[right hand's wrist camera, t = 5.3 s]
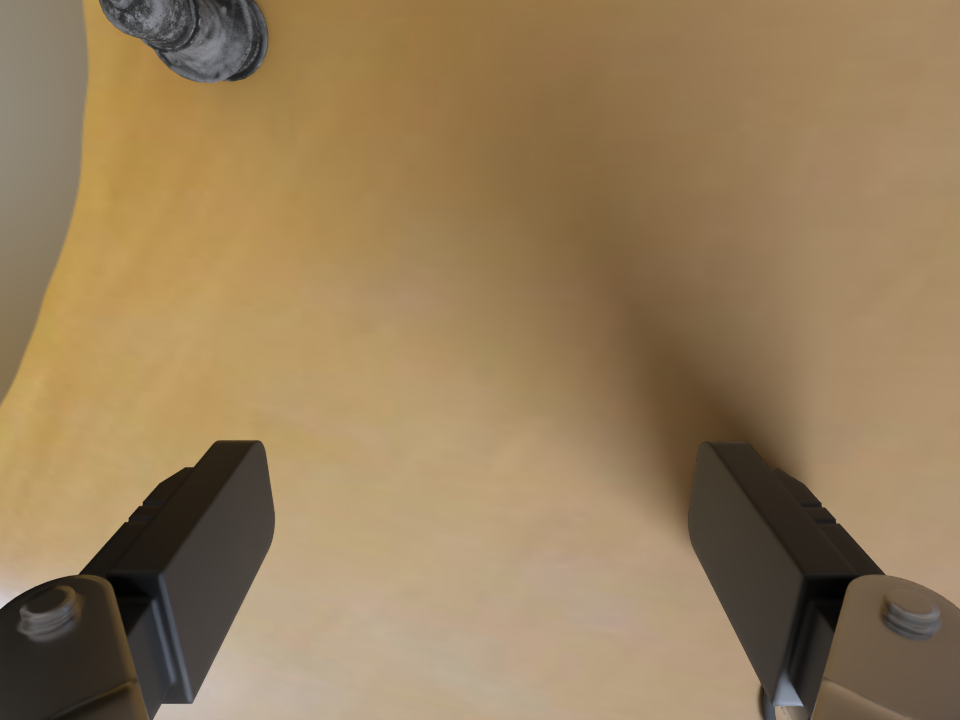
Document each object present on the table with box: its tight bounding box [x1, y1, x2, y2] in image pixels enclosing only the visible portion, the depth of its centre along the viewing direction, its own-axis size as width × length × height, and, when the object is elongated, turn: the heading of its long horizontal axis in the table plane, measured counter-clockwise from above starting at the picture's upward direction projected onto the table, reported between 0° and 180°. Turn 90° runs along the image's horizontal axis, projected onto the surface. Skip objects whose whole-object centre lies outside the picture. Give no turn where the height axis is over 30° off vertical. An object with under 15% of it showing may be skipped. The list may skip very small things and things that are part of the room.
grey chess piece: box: [99, 0, 268, 83], centre depth 30 cm, size 6×6×12 cm
